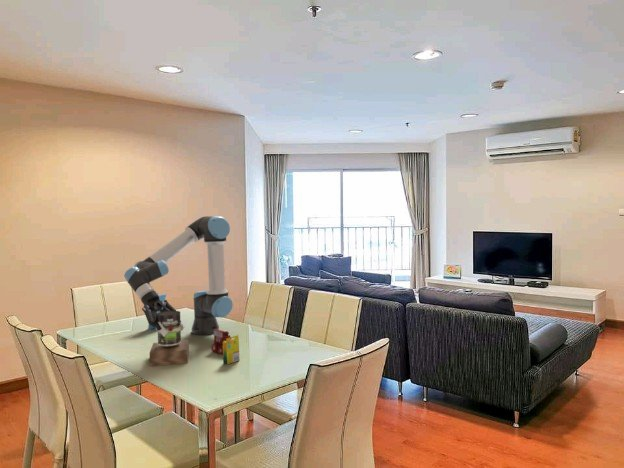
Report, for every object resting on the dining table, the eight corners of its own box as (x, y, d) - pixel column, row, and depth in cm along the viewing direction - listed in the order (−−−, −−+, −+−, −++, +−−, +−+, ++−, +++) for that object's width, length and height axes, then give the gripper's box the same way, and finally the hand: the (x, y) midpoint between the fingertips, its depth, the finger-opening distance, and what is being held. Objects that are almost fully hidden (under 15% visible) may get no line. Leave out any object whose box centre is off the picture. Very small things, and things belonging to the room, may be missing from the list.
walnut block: (188, 352, 222) (188, 340, 222) (187, 363, 206) (187, 349, 206) (153, 355, 218) (153, 342, 218) (149, 366, 203) (149, 352, 202)
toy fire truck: (225, 356, 215) (225, 334, 215) (209, 351, 223) (208, 330, 222) (237, 352, 220) (236, 331, 220) (220, 348, 228) (219, 327, 228)
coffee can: (182, 344, 209) (182, 313, 209) (159, 347, 205) (158, 316, 205) (179, 339, 219) (178, 309, 218) (156, 341, 215) (155, 311, 214)
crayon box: (235, 359, 211) (234, 333, 210) (239, 360, 209) (239, 334, 208) (222, 363, 205) (222, 337, 204) (227, 364, 203) (226, 338, 202)
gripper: (161, 296, 228) (187, 331, 222) (124, 305, 208) (151, 343, 202) (169, 286, 225) (195, 321, 219) (132, 294, 205) (160, 332, 199)
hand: (174, 331), depth 210 cm, fingers closed on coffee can, 10 cm apart
